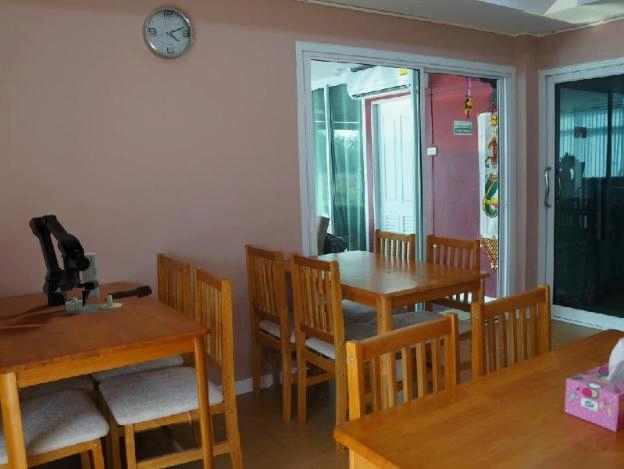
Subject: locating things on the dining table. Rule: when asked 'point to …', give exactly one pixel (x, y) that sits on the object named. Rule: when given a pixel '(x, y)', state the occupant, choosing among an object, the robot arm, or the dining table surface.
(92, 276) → the spray can
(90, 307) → the rod board
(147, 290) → the hand tool
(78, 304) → the ring
